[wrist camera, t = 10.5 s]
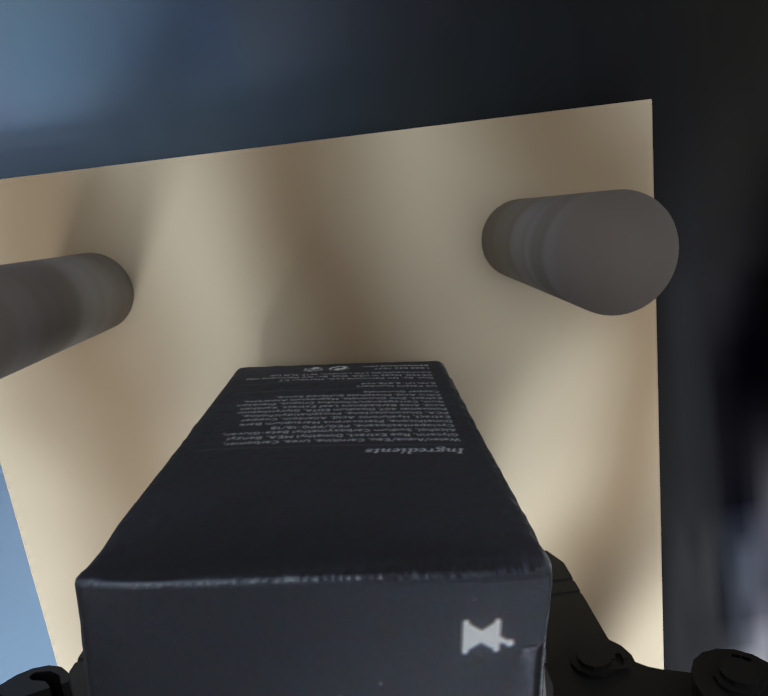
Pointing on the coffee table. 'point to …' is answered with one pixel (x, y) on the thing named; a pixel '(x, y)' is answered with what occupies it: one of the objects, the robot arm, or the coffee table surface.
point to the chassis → (349, 323)
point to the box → (322, 550)
